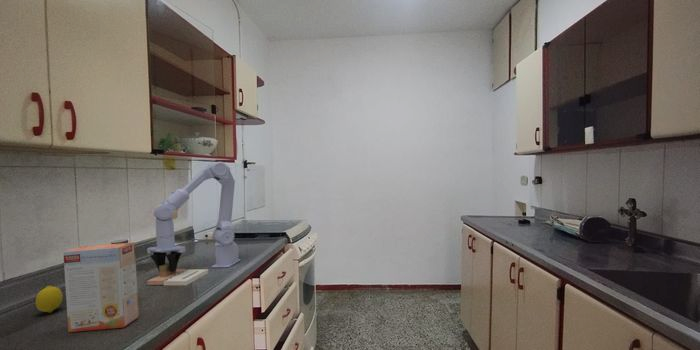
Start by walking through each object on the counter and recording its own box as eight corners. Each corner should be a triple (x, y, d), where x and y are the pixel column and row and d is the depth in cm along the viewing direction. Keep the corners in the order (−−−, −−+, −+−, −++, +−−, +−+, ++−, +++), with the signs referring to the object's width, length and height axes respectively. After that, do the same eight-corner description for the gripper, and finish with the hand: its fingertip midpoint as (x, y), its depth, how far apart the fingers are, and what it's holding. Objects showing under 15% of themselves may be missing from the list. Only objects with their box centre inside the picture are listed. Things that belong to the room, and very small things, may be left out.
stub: (173, 272, 113) (172, 259, 113) (187, 272, 112) (186, 259, 112) (147, 284, 102) (146, 269, 101) (162, 284, 101) (162, 269, 101)
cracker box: (140, 316, 77) (135, 241, 77) (123, 328, 71) (118, 247, 71) (88, 320, 77) (83, 244, 77) (67, 333, 71) (61, 250, 71)
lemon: (60, 306, 88) (58, 281, 87) (66, 310, 85) (64, 283, 85) (34, 315, 83) (32, 288, 83) (39, 319, 80) (37, 291, 80)
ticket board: (187, 273, 112) (187, 269, 112) (208, 273, 111) (208, 269, 111) (163, 285, 101) (163, 280, 101) (186, 285, 99) (186, 280, 99)
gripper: (139, 238, 104) (141, 275, 104) (174, 237, 102) (176, 275, 102) (155, 234, 111) (157, 268, 111) (188, 233, 109) (190, 268, 109)
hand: (167, 271), depth 107 cm, fingers open, 4 cm apart
